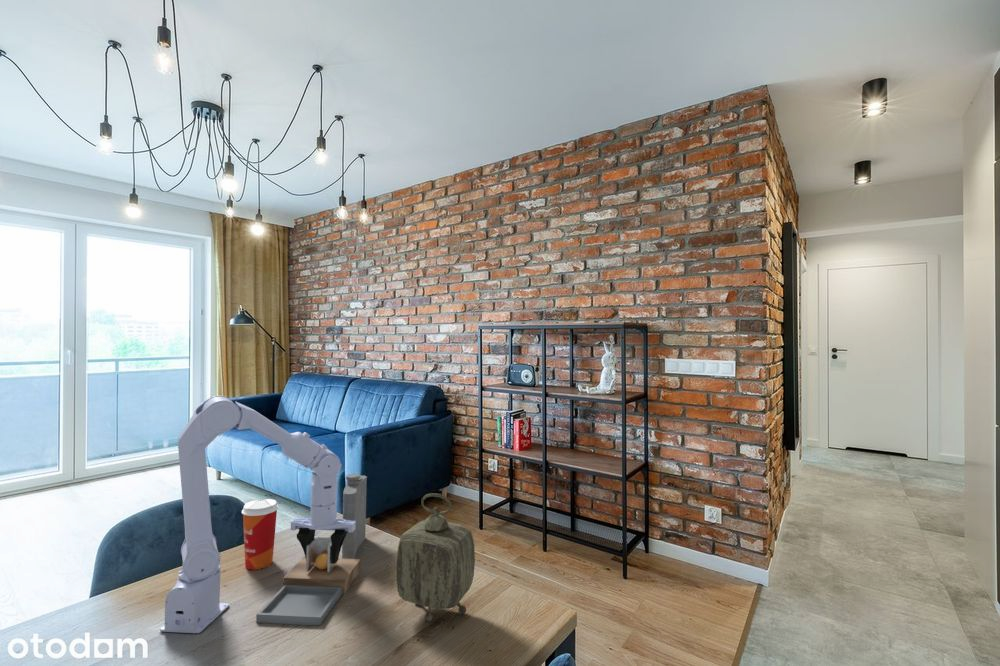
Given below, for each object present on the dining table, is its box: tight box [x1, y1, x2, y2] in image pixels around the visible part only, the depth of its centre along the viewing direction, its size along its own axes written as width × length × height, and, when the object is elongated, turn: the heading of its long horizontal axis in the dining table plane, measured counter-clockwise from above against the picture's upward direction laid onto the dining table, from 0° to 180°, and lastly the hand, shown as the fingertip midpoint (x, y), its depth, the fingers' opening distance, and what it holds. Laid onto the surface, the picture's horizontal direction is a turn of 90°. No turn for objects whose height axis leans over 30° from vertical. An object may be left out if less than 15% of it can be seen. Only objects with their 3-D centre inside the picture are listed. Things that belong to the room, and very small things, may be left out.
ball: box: [315, 553, 328, 569], centre depth 110 cm, size 3×3×3 cm
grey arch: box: [306, 535, 338, 573], centre depth 110 cm, size 5×5×6 cm
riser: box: [282, 556, 361, 595], centre depth 110 cm, size 10×14×3 cm
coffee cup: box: [241, 498, 279, 571], centre depth 117 cm, size 8×8×15 cm
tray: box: [255, 585, 343, 626], centre depth 99 cm, size 11×13×2 cm
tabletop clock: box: [395, 492, 476, 623], centre depth 97 cm, size 14×9×25 cm, turn 70°
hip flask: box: [341, 473, 368, 559], centre depth 127 cm, size 16×4×20 cm, turn 4°
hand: (322, 561), depth 110 cm, fingers closed on grey arch, 5 cm apart
